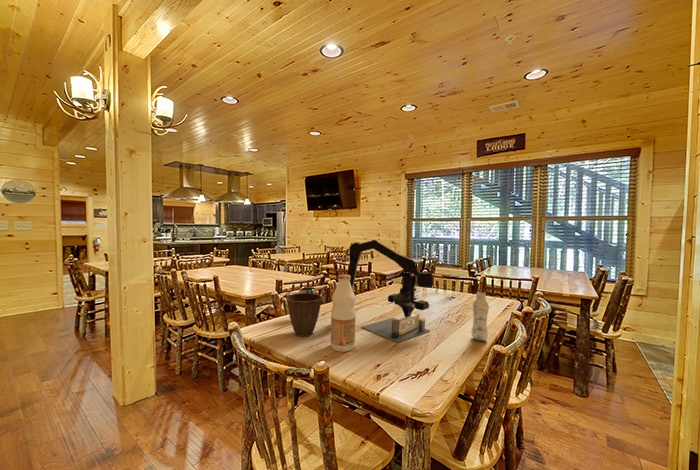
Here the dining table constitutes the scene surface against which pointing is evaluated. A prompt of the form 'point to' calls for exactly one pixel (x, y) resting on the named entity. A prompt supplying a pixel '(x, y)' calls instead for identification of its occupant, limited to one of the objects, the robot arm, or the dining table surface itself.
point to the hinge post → (395, 329)
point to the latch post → (421, 324)
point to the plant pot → (304, 312)
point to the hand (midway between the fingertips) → (406, 320)
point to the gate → (412, 326)
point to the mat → (385, 330)
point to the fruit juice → (343, 316)
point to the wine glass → (308, 290)
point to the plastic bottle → (480, 317)
